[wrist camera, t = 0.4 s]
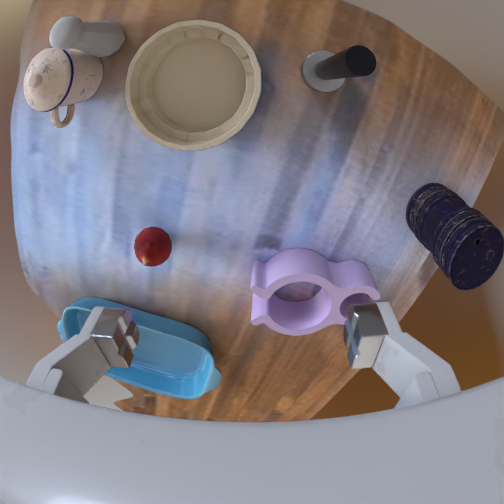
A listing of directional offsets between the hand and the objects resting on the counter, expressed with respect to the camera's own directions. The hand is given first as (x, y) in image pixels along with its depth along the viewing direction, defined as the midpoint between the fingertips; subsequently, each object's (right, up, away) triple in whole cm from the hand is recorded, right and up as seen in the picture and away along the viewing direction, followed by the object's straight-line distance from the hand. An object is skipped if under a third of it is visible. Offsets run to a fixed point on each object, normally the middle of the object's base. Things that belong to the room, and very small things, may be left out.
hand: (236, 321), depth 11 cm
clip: (+11, -2, +39) cm, 41 cm away
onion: (-14, +5, +36) cm, 39 cm away
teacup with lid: (-25, +28, +23) cm, 44 cm away
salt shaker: (-19, +33, +20) cm, 43 cm away
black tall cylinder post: (+10, +26, +22) cm, 36 cm away
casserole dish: (-23, -16, +50) cm, 57 cm away
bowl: (-6, +25, +24) cm, 35 cm away
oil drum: (+30, +9, +31) cm, 44 cm away
